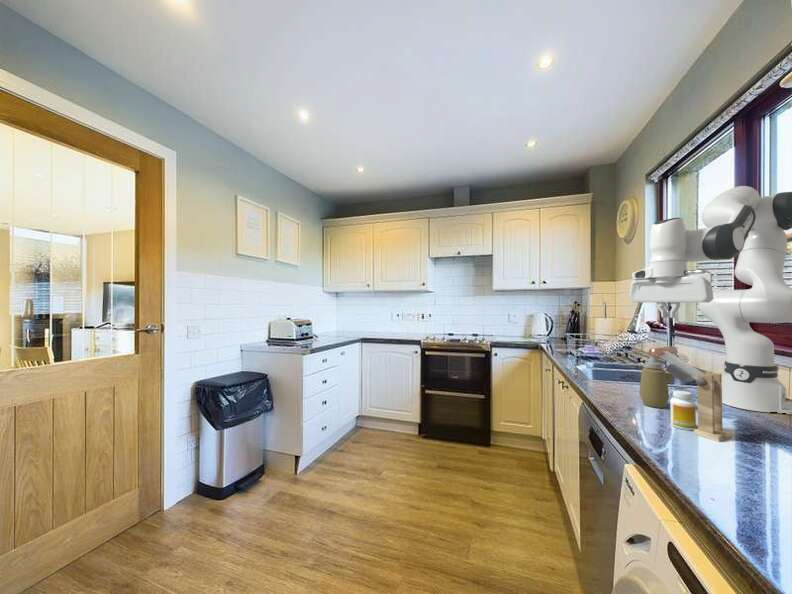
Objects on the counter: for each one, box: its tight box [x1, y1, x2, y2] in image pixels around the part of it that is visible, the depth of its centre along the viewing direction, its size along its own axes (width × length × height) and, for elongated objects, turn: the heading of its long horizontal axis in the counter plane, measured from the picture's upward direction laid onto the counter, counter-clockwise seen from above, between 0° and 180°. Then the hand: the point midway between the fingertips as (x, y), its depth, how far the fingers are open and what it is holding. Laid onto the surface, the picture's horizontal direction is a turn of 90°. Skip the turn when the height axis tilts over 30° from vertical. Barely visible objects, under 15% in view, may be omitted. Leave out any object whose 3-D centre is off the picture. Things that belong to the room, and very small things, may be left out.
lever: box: [648, 346, 716, 383], centre depth 94 cm, size 10×15×4 cm
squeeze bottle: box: [638, 355, 670, 409], centre depth 112 cm, size 8×8×18 cm
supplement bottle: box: [669, 390, 697, 431], centre depth 93 cm, size 5×5×10 cm
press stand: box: [693, 371, 733, 442], centre depth 87 cm, size 7×5×16 cm
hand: (668, 317), depth 100 cm, fingers closed
